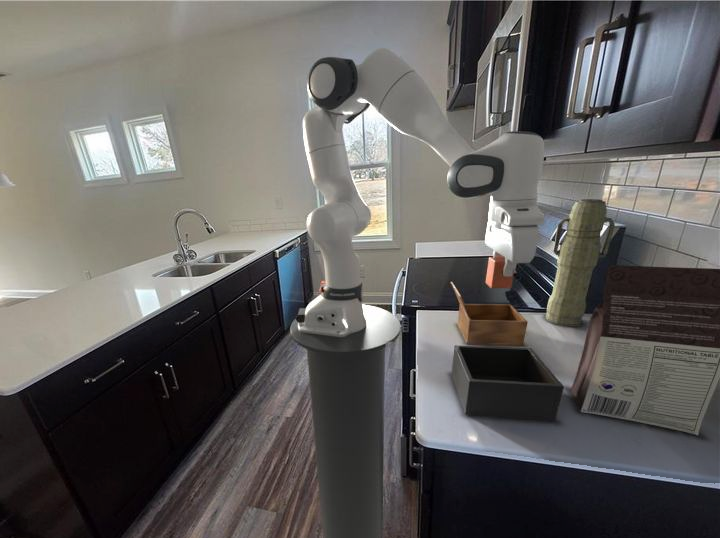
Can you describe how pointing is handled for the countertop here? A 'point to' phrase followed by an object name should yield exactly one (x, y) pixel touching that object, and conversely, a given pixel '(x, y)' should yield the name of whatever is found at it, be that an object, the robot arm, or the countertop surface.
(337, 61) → the robot arm
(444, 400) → the countertop surface
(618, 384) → the protein powder
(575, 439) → the countertop surface
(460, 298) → the flap
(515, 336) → the wooden box
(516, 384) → the basket
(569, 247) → the thermos
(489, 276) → the block
